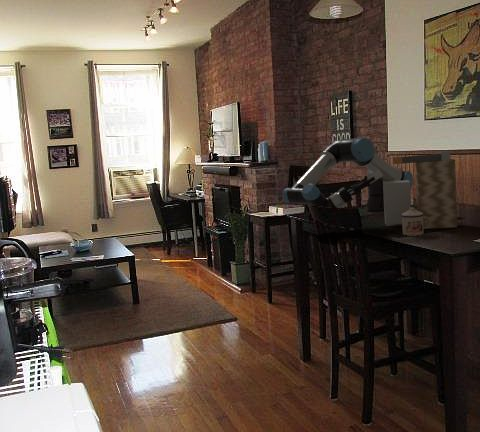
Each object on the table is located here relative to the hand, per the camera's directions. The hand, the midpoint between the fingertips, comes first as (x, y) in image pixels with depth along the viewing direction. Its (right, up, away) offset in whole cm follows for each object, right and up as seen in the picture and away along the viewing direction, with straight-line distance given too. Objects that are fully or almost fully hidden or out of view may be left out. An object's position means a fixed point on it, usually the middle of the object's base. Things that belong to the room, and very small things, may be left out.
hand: (380, 172), depth 241 cm
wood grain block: (+25, -25, -2) cm, 36 cm away
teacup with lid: (+12, -28, -15) cm, 34 cm away
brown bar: (+17, +4, -5) cm, 18 cm away
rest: (+12, -24, +14) cm, 30 cm away
